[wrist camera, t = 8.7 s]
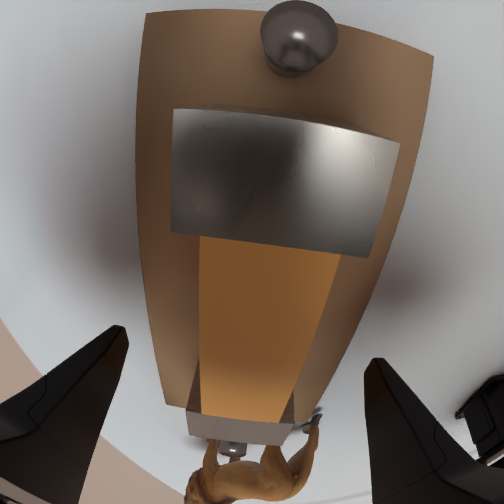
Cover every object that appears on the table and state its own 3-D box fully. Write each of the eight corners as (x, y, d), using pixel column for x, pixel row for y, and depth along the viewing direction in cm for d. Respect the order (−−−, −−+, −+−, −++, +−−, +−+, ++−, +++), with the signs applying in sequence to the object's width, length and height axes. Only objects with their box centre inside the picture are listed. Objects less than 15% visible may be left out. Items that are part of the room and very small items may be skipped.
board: (421, 58, 8) (494, 50, 4) (306, 410, 19) (308, 464, 15) (156, 18, 8) (92, -12, 4) (169, 393, 19) (154, 445, 15)
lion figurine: (224, 456, 25) (214, 528, 18) (181, 440, 24) (165, 518, 16) (340, 416, 19) (348, 520, 12) (295, 394, 18) (295, 520, 10)
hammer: (358, 125, 9) (400, 143, 6) (282, 395, 16) (281, 445, 13) (207, 103, 9) (173, 108, 6) (200, 385, 16) (189, 434, 13)
